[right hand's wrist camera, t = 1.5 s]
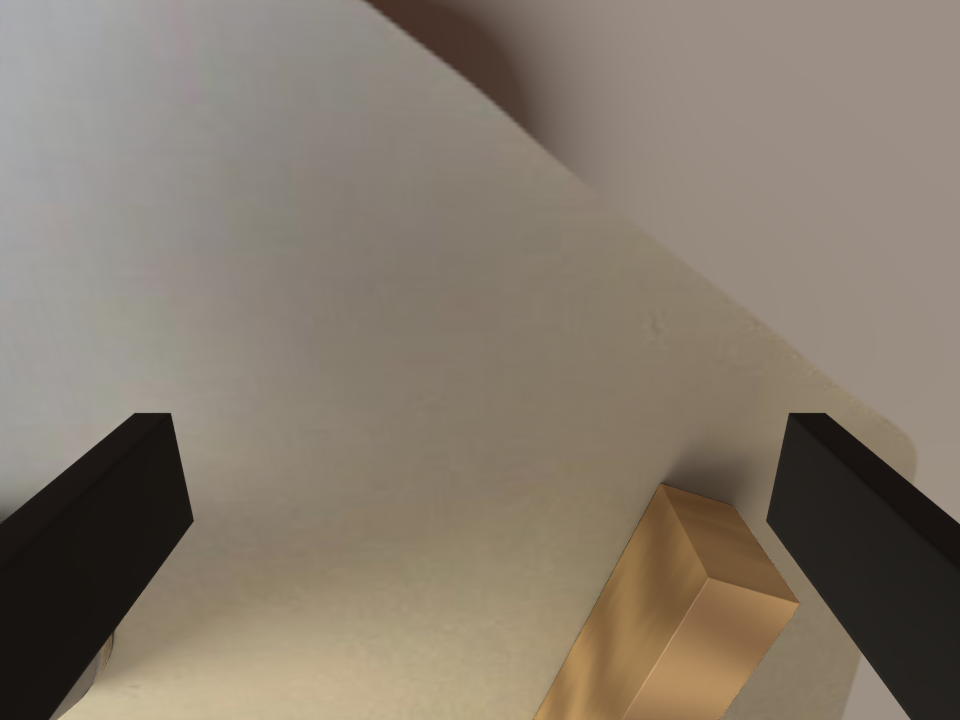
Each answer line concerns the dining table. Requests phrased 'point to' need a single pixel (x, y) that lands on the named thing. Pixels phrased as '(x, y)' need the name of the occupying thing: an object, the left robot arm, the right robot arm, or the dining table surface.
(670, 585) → the beam
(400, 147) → the dining table surface
